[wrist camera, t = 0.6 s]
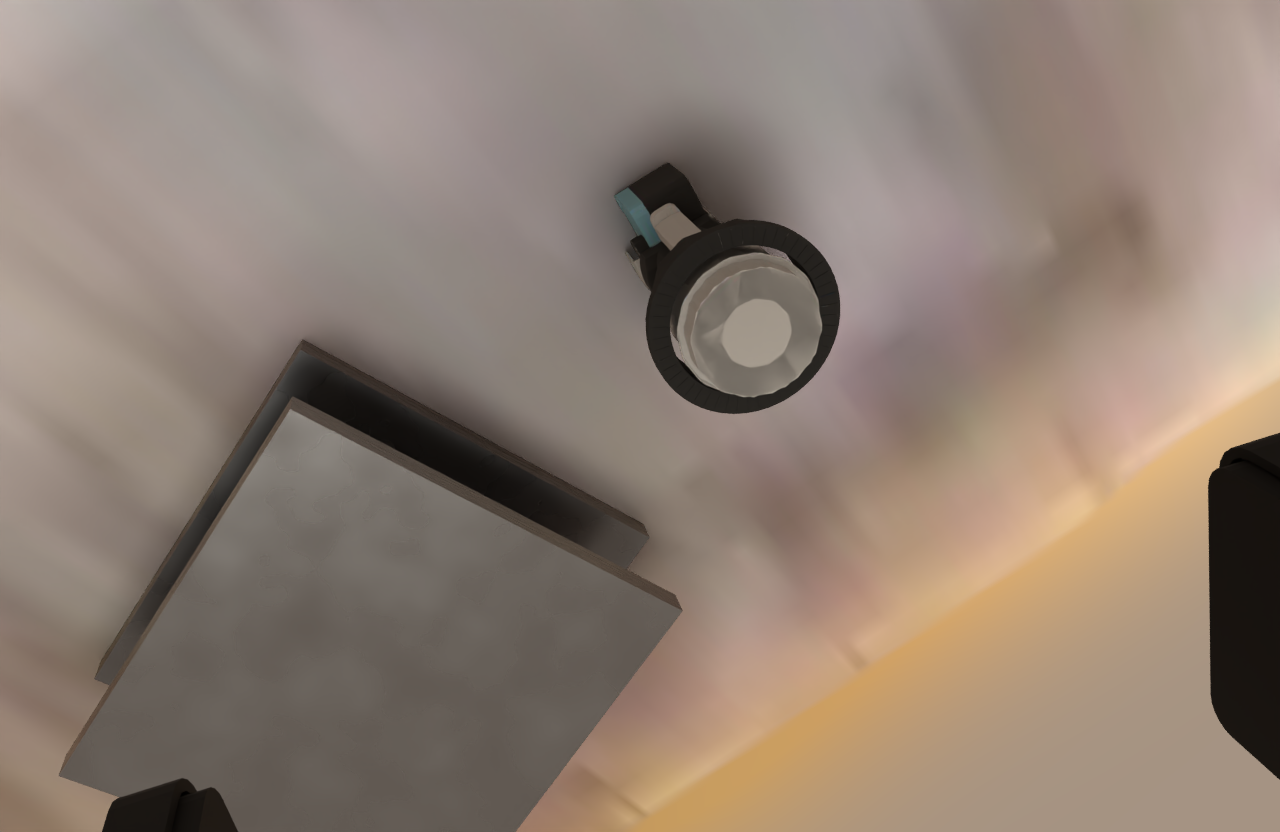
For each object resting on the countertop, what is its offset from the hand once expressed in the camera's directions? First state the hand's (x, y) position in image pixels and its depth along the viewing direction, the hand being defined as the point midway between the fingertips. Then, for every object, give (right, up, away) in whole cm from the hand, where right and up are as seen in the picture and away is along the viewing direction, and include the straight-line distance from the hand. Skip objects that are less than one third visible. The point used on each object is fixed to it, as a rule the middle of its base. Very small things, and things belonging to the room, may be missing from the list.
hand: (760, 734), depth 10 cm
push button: (0, +8, +29) cm, 30 cm away
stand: (-11, -4, +31) cm, 33 cm away
